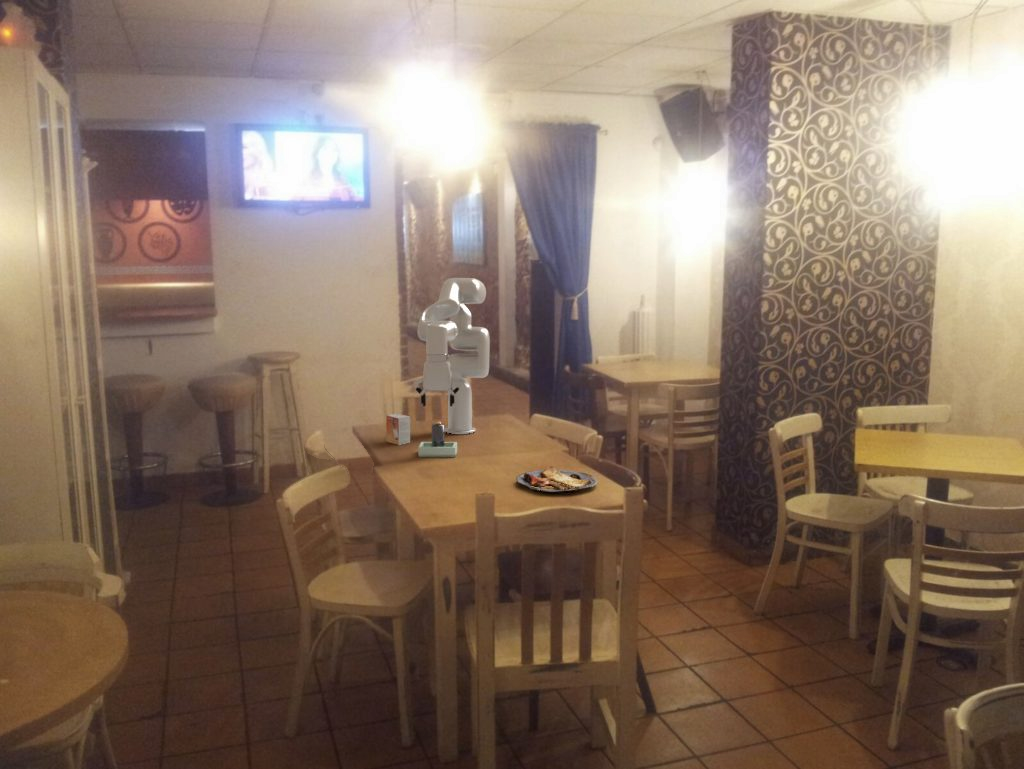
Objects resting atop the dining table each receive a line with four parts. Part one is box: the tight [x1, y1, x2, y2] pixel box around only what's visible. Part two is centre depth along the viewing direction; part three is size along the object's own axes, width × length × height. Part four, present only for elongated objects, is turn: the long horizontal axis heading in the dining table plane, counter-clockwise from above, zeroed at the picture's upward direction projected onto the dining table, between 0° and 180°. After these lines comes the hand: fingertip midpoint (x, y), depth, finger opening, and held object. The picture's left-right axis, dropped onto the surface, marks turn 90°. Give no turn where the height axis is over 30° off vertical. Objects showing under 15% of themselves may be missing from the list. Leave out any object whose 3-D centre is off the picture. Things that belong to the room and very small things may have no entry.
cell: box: [431, 421, 445, 447], centre depth 316 cm, size 4×4×11 cm
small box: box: [385, 413, 411, 446], centre depth 335 cm, size 8×6×10 cm
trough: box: [418, 441, 458, 458], centre depth 317 cm, size 9×13×4 cm
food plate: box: [515, 466, 598, 493], centre depth 276 cm, size 25×23×4 cm
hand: (437, 405), depth 315 cm, fingers open, 9 cm apart
